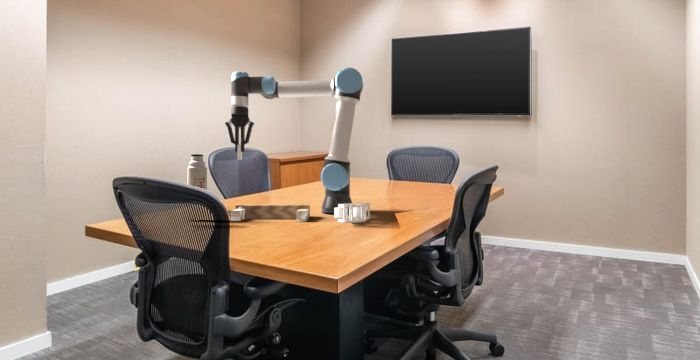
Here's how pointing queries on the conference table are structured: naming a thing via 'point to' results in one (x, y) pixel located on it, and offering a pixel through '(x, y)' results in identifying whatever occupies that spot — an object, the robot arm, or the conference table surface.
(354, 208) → the car outline toy
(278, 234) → the conference table surface
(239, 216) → the folding leg
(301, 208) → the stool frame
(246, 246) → the conference table surface
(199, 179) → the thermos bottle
